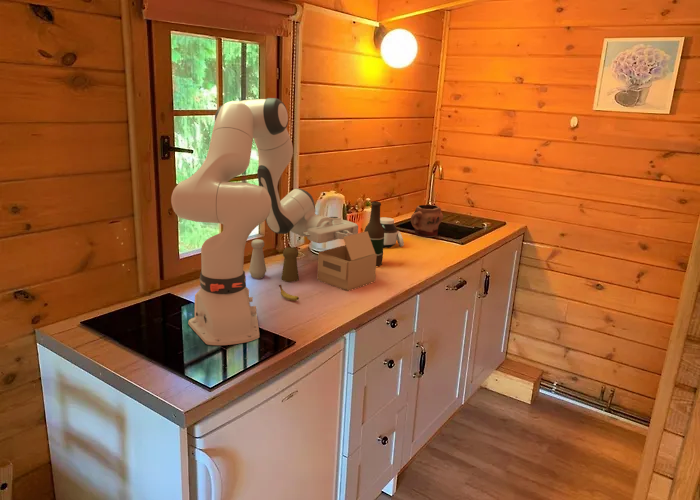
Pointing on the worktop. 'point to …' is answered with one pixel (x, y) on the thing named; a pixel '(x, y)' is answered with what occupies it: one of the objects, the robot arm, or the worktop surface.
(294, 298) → the banana
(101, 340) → the worktop surface
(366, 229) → the beer bottle
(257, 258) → the salt shaker
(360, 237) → the flap
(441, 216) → the decorative planter
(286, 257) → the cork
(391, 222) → the spread jar
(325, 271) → the carton
